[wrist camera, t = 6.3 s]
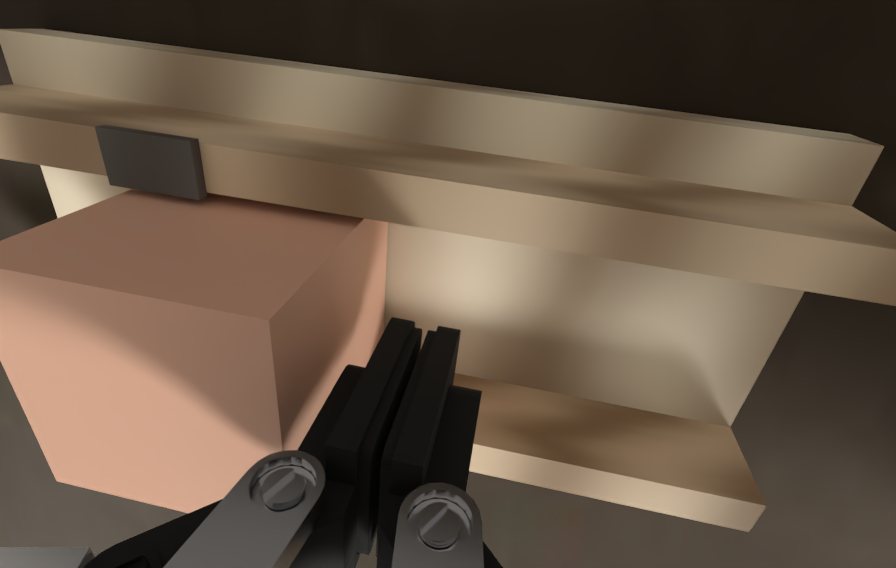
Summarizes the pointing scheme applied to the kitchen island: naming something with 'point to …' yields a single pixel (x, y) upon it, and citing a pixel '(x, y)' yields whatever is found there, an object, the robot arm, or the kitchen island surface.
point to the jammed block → (184, 336)
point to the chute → (503, 236)
